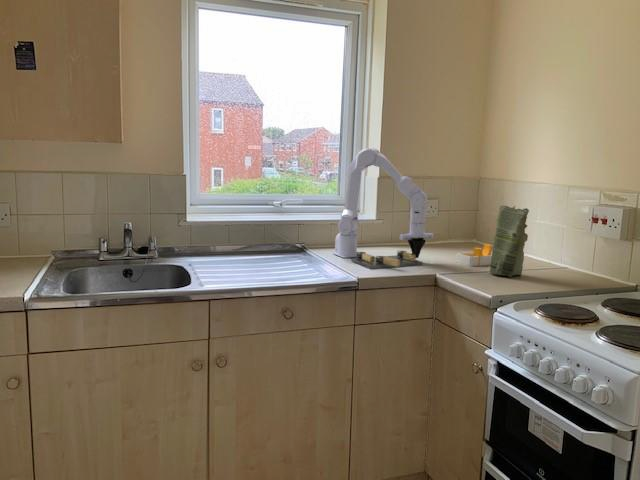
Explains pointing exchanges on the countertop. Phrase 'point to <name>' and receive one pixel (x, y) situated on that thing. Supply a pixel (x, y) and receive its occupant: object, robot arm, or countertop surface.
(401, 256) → the far knob
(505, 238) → the pouch
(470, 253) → the parts bin frame
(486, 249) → the pipe clamp
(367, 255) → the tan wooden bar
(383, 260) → the near knob
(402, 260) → the levelling plate
